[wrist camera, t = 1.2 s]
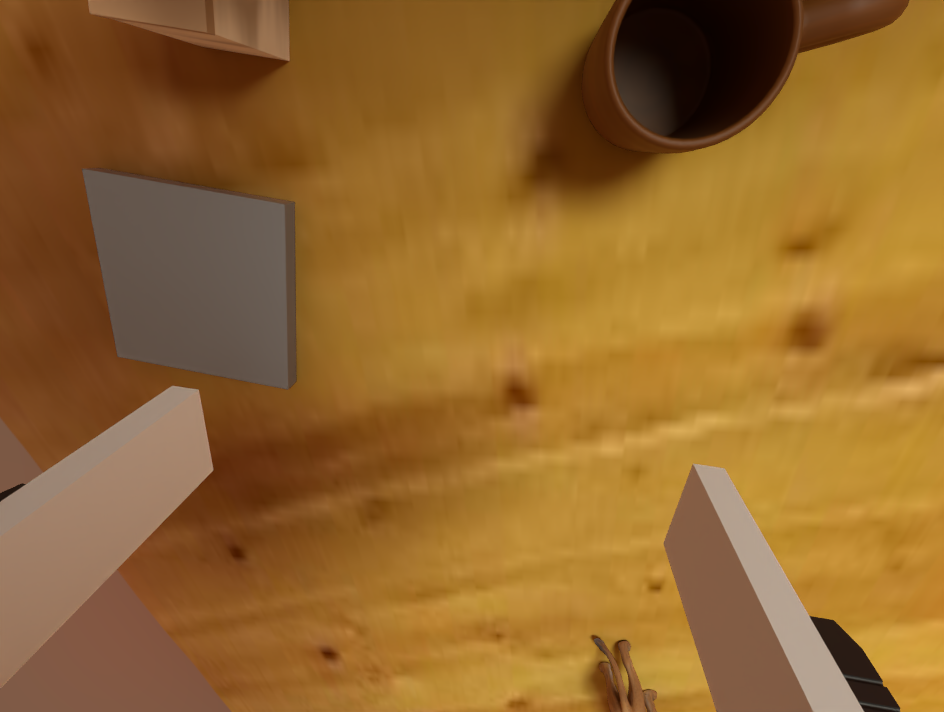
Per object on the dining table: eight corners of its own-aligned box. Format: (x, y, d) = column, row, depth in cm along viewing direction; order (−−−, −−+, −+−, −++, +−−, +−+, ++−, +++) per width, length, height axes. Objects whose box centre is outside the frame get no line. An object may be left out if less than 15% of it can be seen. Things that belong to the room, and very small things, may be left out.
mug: (809, -49, 24) (967, -160, 15) (802, 115, 26) (932, 100, 18) (570, 21, 26) (590, -41, 17) (588, 165, 29) (612, 172, 20)
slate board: (99, 167, 32) (82, 168, 31) (294, 202, 32) (284, 204, 30) (131, 349, 38) (117, 356, 37) (296, 381, 38) (288, 389, 36)
